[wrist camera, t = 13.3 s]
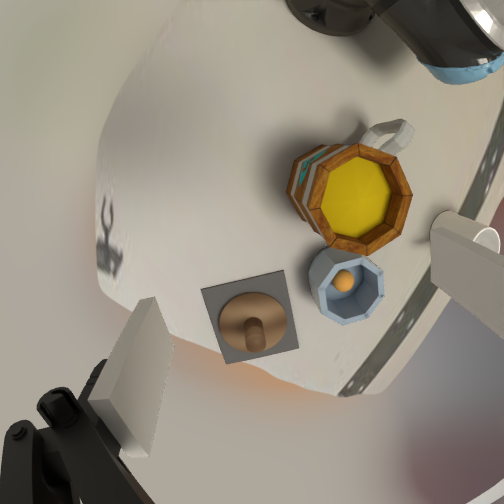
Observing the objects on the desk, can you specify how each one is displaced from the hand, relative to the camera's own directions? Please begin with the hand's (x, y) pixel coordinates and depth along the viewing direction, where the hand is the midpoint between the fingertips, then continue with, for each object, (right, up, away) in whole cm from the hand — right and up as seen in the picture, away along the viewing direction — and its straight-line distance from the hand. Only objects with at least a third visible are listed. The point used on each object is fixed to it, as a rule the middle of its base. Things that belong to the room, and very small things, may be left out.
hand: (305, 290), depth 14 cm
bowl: (+12, -2, +40) cm, 42 cm away
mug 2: (+33, +5, +39) cm, 52 cm away
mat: (-2, -10, +42) cm, 43 cm away
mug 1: (+11, +14, +35) cm, 40 cm away
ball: (+12, -2, +39) cm, 41 cm away
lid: (-2, -10, +41) cm, 43 cm away
